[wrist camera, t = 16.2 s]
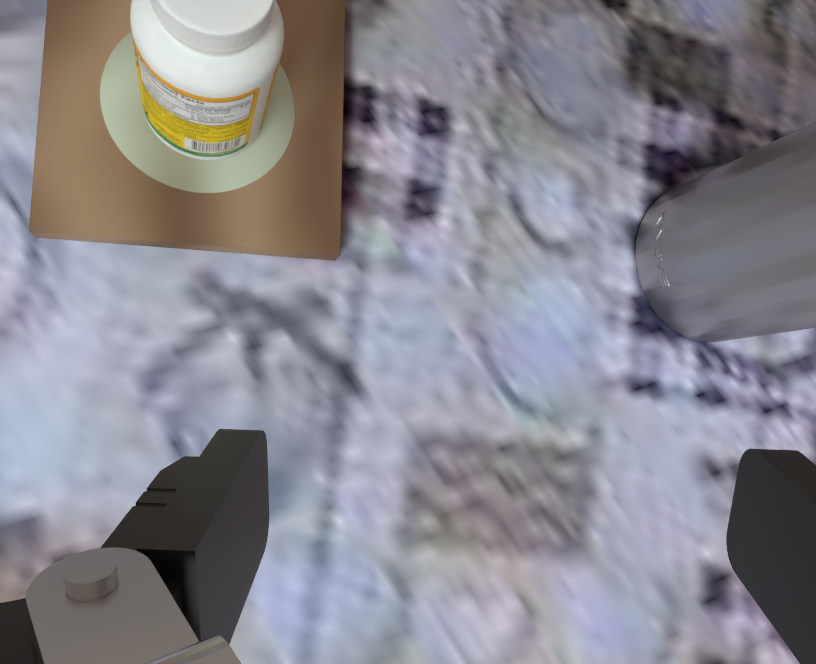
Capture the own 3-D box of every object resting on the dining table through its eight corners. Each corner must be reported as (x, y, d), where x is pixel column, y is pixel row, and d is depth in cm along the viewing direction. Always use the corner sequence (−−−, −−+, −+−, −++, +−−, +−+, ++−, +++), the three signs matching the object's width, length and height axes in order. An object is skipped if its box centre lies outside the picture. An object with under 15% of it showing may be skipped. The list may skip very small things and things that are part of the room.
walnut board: (340, 10, 35) (345, -5, 34) (334, 260, 33) (340, 254, 32) (57, -44, 31) (52, -62, 30) (35, 237, 29) (28, 229, 28)
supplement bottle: (213, 187, 31) (223, 90, 22) (113, 104, 30) (81, -33, 21) (289, 106, 32) (329, -17, 23) (196, 25, 31) (200, -136, 22)
